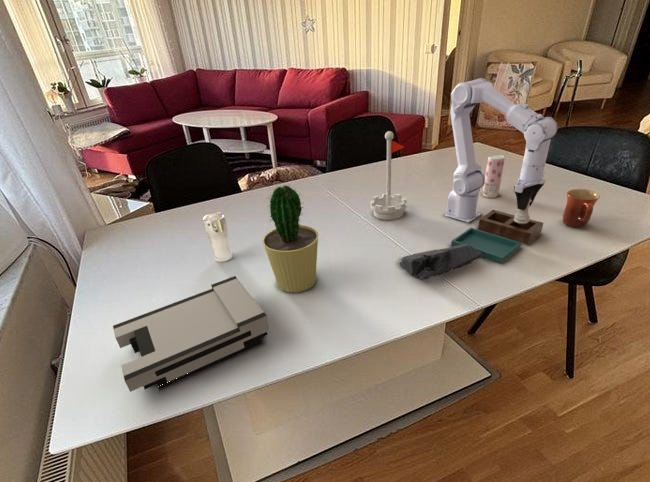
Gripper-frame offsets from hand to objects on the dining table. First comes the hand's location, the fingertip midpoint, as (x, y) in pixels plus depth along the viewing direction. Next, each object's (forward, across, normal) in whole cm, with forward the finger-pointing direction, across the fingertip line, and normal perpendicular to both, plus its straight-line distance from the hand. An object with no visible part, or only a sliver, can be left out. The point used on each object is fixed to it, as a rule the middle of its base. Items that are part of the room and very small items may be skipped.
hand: (524, 207), depth 120 cm
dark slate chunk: (+9, -30, +8) cm, 33 cm away
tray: (+10, -13, +4) cm, 17 cm away
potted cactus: (+10, -63, +35) cm, 73 cm away
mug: (+10, +17, -11) cm, 22 cm away
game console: (+10, -97, +34) cm, 103 cm away
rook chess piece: (+5, 0, 0) cm, 5 cm away
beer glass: (+10, -70, +65) cm, 96 cm away
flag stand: (+10, -11, +43) cm, 46 cm away
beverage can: (+10, +25, +22) cm, 35 cm away
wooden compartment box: (+10, +1, +3) cm, 10 cm away
